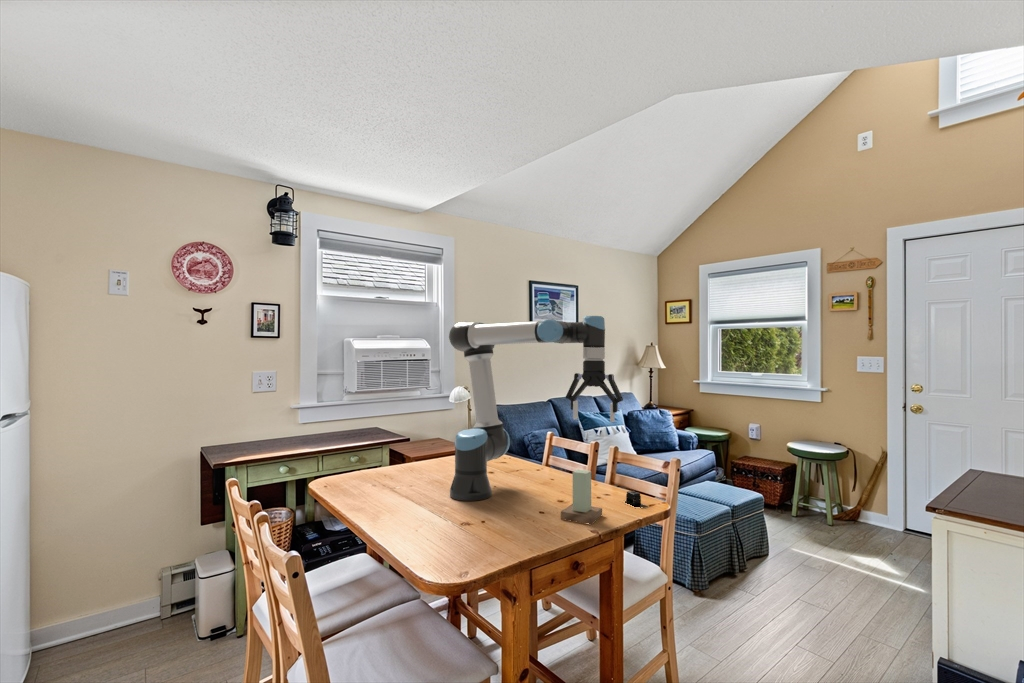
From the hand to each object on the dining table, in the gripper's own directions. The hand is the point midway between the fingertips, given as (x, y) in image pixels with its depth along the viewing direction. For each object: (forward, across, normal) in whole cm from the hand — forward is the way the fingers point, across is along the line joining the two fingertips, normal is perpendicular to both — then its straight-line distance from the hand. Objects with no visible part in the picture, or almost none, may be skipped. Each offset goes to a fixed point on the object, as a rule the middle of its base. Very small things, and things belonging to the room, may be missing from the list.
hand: (593, 420), depth 172 cm
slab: (+29, -2, +16) cm, 33 cm away
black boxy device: (+29, -12, -7) cm, 33 cm away
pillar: (+26, -2, +16) cm, 31 cm away
